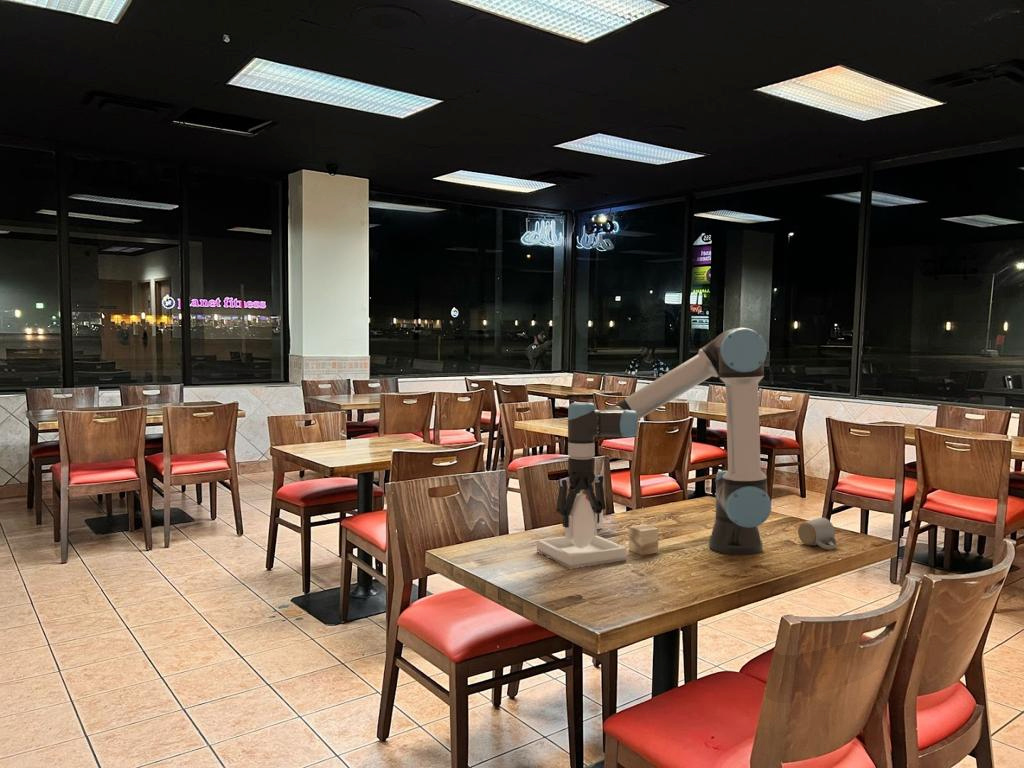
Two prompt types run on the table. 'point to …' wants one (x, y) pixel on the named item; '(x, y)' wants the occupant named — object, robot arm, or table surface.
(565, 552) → the tray
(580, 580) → the table surface
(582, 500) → the sauce bottle
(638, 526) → the birch block
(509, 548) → the table surface
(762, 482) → the robot arm
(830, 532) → the ceramic mug
